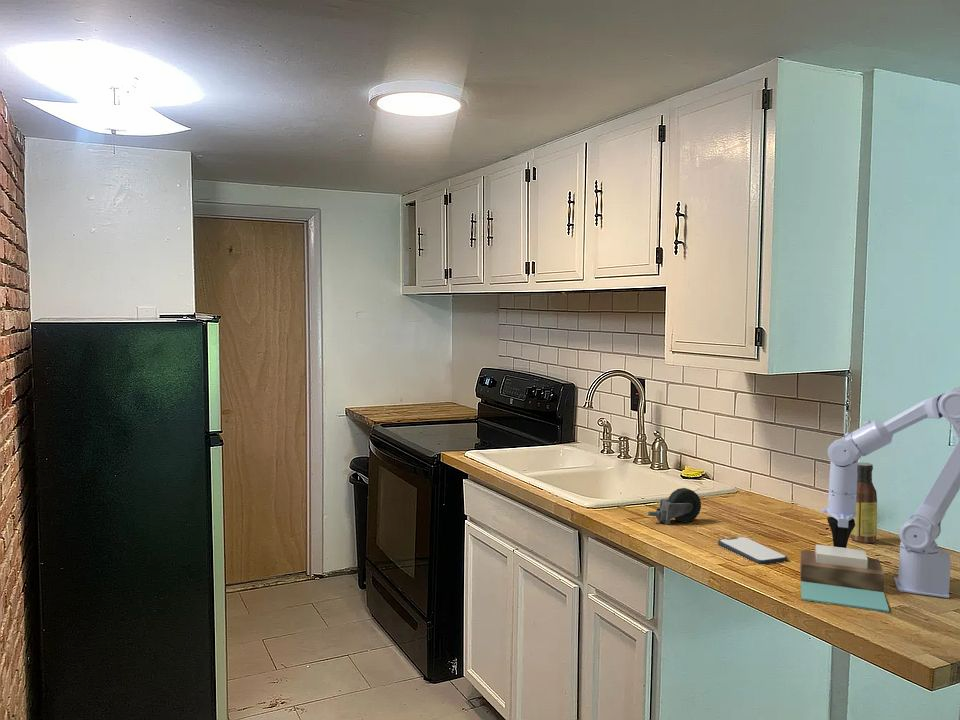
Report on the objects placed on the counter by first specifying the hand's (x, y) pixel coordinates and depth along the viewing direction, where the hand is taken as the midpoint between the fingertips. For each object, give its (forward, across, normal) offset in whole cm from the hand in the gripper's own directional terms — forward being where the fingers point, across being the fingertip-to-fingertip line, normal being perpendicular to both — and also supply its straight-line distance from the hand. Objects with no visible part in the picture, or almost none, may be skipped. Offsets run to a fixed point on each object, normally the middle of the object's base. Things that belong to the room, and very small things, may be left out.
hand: (839, 550), depth 177 cm
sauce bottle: (+5, -28, +7) cm, 29 cm away
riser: (+5, +6, 0) cm, 7 cm away
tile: (+1, +5, 0) cm, 5 cm away
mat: (+5, +17, 0) cm, 17 cm away
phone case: (+5, -6, -19) cm, 20 cm away
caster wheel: (+5, -25, -40) cm, 47 cm away
